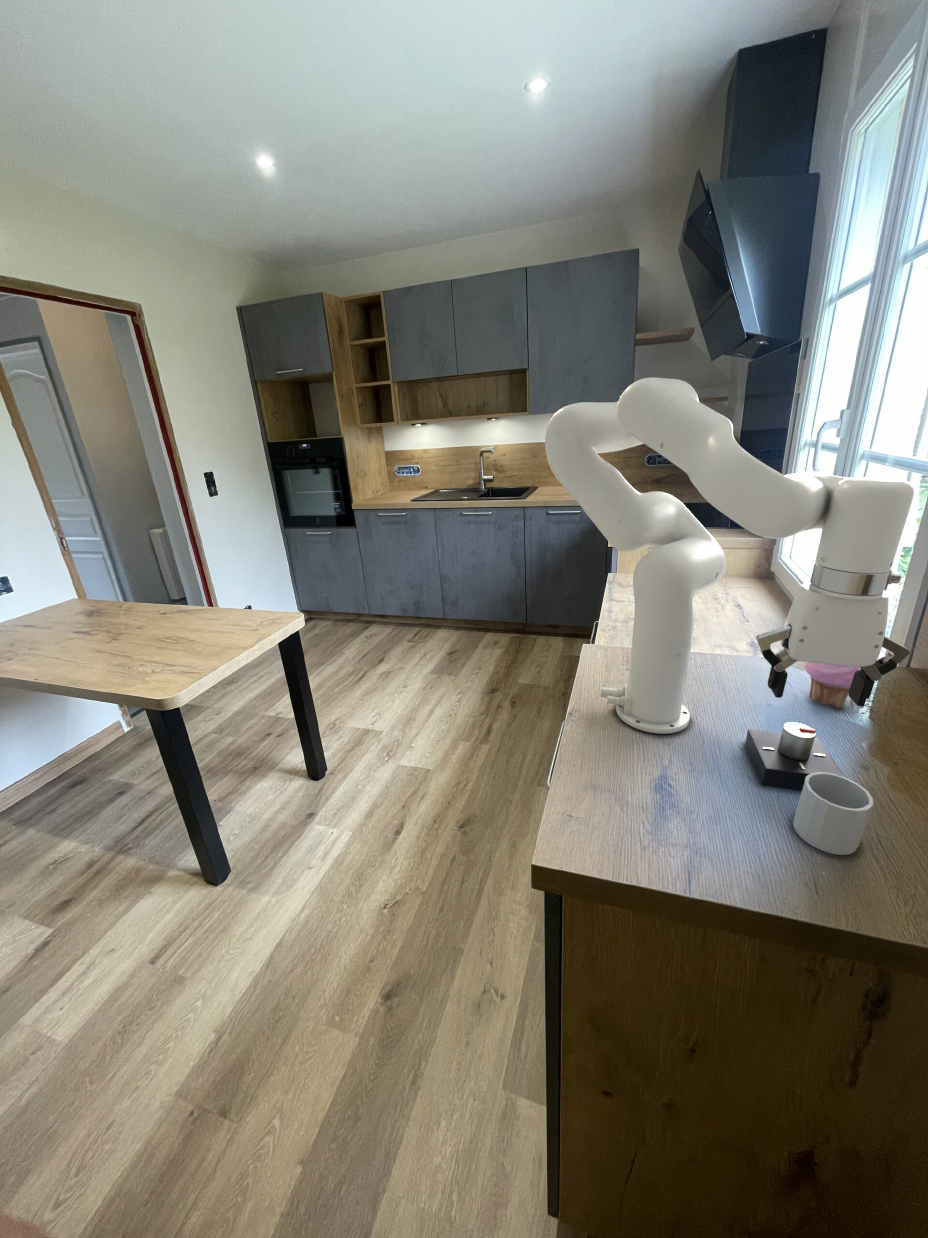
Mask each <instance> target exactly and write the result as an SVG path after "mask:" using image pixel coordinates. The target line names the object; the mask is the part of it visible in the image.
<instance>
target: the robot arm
mask: <svg viewBox="0 0 928 1238" xmlns="http://www.w3.org/2000/svg"><path fill="white" fill-rule="evenodd" d="M699 399H700V398H699V395H698V393H697V391H696V390H695V388H694V387H693V386H692V385H691V384H689V383H688V382H687V381H685V380H682V379H677V378H666V377H654V376H653V377H645V378H644V377H643V378H640V379H638V380H636V381H634V382H633V383H631V384H630V385H628V386H627V387H626V388H625V389H624V391H623V392H622V393H621V394H620V396H619V399H618V401H613V402H611V401H609V402H606V401H603V402H599V401H598V402H597V401H596V402H595V401H588V402H587V401H584V402H583V401H582V402H576V403H571V404H568V405H565V406H563V407H561V408H559V409H558V410H557V411H556V412H554V414H553V415H552V417H551V418H550V420H549V422H548V424H547V427H546V431H545V437H544V446H545V447H544V450H545V457H546V460H547V463H548V466H549V468H550V470H551V472H552V473H553V475H554V477H555V478H556V480H557V481H558V483H559V484H561V486H562V487H563V488H564V489H565V490H566V491H567V492H568V493H569V494H570V496H572V497H573V499H574V500H575V501H576V502H577V503H578V506H580V508H581V509H582V510H583V512H584V513H585V514H586V515H587V516H588V518H589V520H591V522H592V523H593V524H594V525H595V527H596V529H598V530H599V532H600V533H601V534H602V536H603V537H604V538H605V539H606V540H607V542H608V543H609V544H610V545H611V546H612V547H613V548H614V549H615V550H617V551H619V552H622V553H634V552H638V551H642V550H645V549H648V548H650V549H651V550H650V551H648V552H647V553H645V555H643V556H642V557H641V558H640V560H639V561H638V562H637V563H636V566H635V567H634V571H633V577H632V588H633V599H634V600H633V601H634V614H633V615H634V616H633V626H632V627H633V628H632V637H631V638H632V639H631V647H630V657H629V667H628V676H627V682H624V686H623V687H618V688H611V687H605V686H601V687H600V698H605V699H607V701H606V703H607V704H609V705H616V706H615V711H616V714H617V716H618V718H620V720H622V721H623V722H624V723H625V724H627V725H628V726H630V727H632V728H635V729H636V730H640V731H643V732H646V733H651V734H659V735H661V734H663V735H666V734H675V733H679V732H680V731H683V730H685V729H686V728H687V727H688V726H689V724H690V719H691V714H690V711H689V710H688V708H687V707H686V706H685V705H684V704H683V702H684V696H685V691H686V690H685V689H686V683H687V677H688V670H689V665H690V657H691V651H692V644H693V638H694V628H695V615H694V606H693V605H694V604H693V603H694V597H695V596H697V595H698V594H700V593H703V591H706V590H708V589H710V588H711V587H713V586H714V585H716V584H717V583H718V582H720V580H721V579H722V577H723V575H724V574H725V571H726V566H727V562H726V561H727V559H726V555H725V553H724V550H723V548H722V547H721V546H720V544H719V542H718V541H717V540H716V539H715V538H714V536H713V535H712V534H711V533H710V532H709V531H708V530H707V529H706V528H705V526H704V525H703V524H702V523H701V521H699V520H698V519H697V517H695V515H694V514H693V513H692V512H691V510H689V508H687V507H686V505H685V504H684V503H683V502H682V501H680V500H679V499H678V498H677V497H675V496H674V495H672V494H670V493H667V492H665V491H658V490H657V491H648V492H640V491H638V490H637V489H635V488H634V487H633V486H632V484H630V483H629V481H628V480H627V479H626V478H625V477H624V476H623V474H622V473H621V472H620V471H619V470H618V469H617V468H616V467H615V466H613V465H612V464H611V463H609V462H608V461H606V460H605V459H604V458H602V457H601V456H600V455H599V454H605V453H606V454H607V453H613V452H619V451H623V450H627V449H630V448H634V447H636V446H641V445H646V446H647V447H649V448H650V449H652V451H655V452H656V453H658V454H659V455H660V456H662V457H663V458H665V459H666V460H668V461H669V462H670V463H671V464H673V465H675V466H676V467H677V468H679V469H680V470H681V471H683V472H684V473H685V474H687V476H688V479H689V481H690V482H691V484H693V486H694V487H695V488H696V490H697V491H698V493H699V494H700V495H701V496H702V497H703V498H704V500H705V501H707V503H709V504H710V505H711V506H712V507H714V508H715V509H716V510H718V511H719V512H720V513H722V514H723V515H725V516H726V517H728V518H729V519H730V520H732V521H733V522H734V523H736V524H738V525H739V526H741V527H742V528H744V529H745V530H747V531H748V532H750V533H752V534H753V535H756V536H759V537H762V538H766V539H772V540H775V539H777V540H779V539H786V538H789V537H792V536H794V535H797V534H799V533H802V532H805V531H810V530H814V529H822V532H821V537H820V540H819V543H818V544H819V545H818V549H817V553H816V557H815V561H814V565H813V568H812V573H811V577H810V581H809V582H803V583H802V584H801V585H800V587H799V589H798V591H797V593H796V595H795V597H794V599H793V602H792V603H791V606H790V608H789V611H788V614H787V617H786V620H785V622H784V626H782V627H779V628H775V629H772V630H769V631H766V632H763V633H759V634H757V635H756V636H755V641H756V644H757V646H758V649H759V651H760V653H761V655H762V656H763V658H764V659H765V661H766V662H768V664H769V665H771V666H770V671H769V675H768V679H767V687H768V689H770V690H771V692H772V694H773V695H774V697H775V698H779V699H781V698H783V695H784V691H785V687H786V683H787V680H788V676H789V673H788V671H786V669H788V668H789V667H791V666H793V665H794V664H795V663H797V662H803V663H807V662H810V663H821V664H832V665H844V666H857V667H860V668H861V669H860V670H857V671H856V672H855V673H854V677H853V680H852V683H851V686H850V690H849V693H848V697H849V698H850V699H851V700H852V702H853V703H854V704H855V705H856V706H857V707H861V708H862V707H865V705H866V703H867V699H870V697H871V694H872V692H873V689H874V685H875V682H878V681H880V680H882V677H883V676H884V675H886V674H888V673H890V672H892V671H894V670H896V668H898V665H899V664H901V663H902V662H903V661H904V660H905V659H906V658H907V657H908V656H909V655H910V654H911V651H910V650H909V649H908V648H907V647H906V646H904V645H902V644H901V643H899V642H897V641H895V640H893V639H892V638H890V637H888V636H886V630H887V624H888V616H889V594H888V593H887V592H886V591H887V590H888V586H889V585H892V584H899V583H900V582H901V579H902V574H901V573H900V572H894V571H893V570H892V567H893V563H894V561H895V557H896V554H897V551H898V547H899V544H900V540H901V538H902V535H903V533H904V528H905V525H906V523H907V522H906V521H907V518H908V515H909V512H910V509H911V506H912V502H913V498H914V494H915V491H914V490H915V489H914V486H913V484H912V483H911V482H909V481H907V480H904V479H900V478H899V479H898V478H894V477H881V476H880V477H878V476H877V477H876V476H860V477H847V476H840V475H833V474H827V473H823V472H817V471H815V472H814V471H800V472H796V473H789V474H785V475H784V474H782V473H781V472H779V471H777V470H776V469H774V468H773V467H770V466H769V465H767V464H766V463H764V462H762V461H761V460H760V459H758V458H756V457H755V456H753V455H752V454H751V453H749V452H748V451H746V450H745V449H744V448H743V447H742V446H741V445H740V444H739V443H738V442H737V440H736V439H735V435H734V426H733V422H732V421H731V419H729V418H728V417H726V416H724V415H723V414H721V413H719V412H717V411H716V410H714V409H712V408H711V407H709V406H707V405H706V404H703V403H702V402H701V401H700V400H699ZM776 642H780V646H781V647H782V648H781V649H779V650H777V652H774V651H773V650H772V648H771V646H772V644H773V643H776ZM882 648H883V649H885V650H887V651H888V652H887V653H886V655H885V656H882V657H880V654H881V651H882ZM879 657H880V658H879Z"/></svg>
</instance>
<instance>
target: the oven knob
mask: <svg viewBox="0 0 928 1238" xmlns="http://www.w3.org/2000/svg"><path fill="white" fill-rule="evenodd" d="M781 733H782V734H781V738H780V742H779V746H778V749H779V751H780V752H781V753H782V754H783V755H785V756H787V757H789V758H792V759H795V760H806V759H808V758H809V757H810V754H811V750H812V746H813V743H814V739H815V737H816V736H817V730H816V729H815V728H814V727H813V728H812V727H810V726H808V725H806V724H803V723H800V722H794V721H791V722H790V721H789V722H785V723H784V724H783V727H782V730H781Z"/></svg>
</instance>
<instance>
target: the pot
mask: <svg viewBox="0 0 928 1238" xmlns="http://www.w3.org/2000/svg"><path fill="white" fill-rule="evenodd" d="M873 807H874V798H873V797H872V795H871V794H870V793H869V791H868V790H867V789H866V788H864V787H863V786H862V785H861V784H860V783H857V782H856V781H853V780H851V779H849V778H847V777H846V776H845V777H842V776H839V775H836V774H832V773H825V772H817V773H811V774H809V775H808V776H806V778H805V781H804V785H803V788H802V790H801V791H800V795H799V799H798V802H797V807H796V809H795V813H794V816H793V821H792V825H793V828H794V830H795V832H796V834H797V835H798V836H799V837H800V838H801V839H802V840H803V841H804V842H806V843H807V844H809V845H810V846H811V847H814V848H815V849H817V850H820V851H821V852H825V853H827V854H832V855H838V856H846V855H852V854H853V853H855V852H856V851H857V849H858V847H859V846H860V843H861V841H862V837H863V835H864V832H865V829H866V826H867V824H868V821H869V818H870V815H871V813H872V809H873Z"/></svg>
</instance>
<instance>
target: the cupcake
mask: <svg viewBox="0 0 928 1238" xmlns="http://www.w3.org/2000/svg"><path fill="white" fill-rule="evenodd" d="M860 669H861V668H860V667H857V666H844V665H832V664H821V663H810V662H805V671H806V673H807V674H808V675H809V676H810V689H809V699H810V700H811V701H812V702H814V703H818V704H821V705H826V706H830V707H833V708H838V709H840V708H842V707H843V706H844V705H845V702H846V700H847V697H849V695H848V693H849V690H850V686H851V683H852V680H853V677H854V673H855V672H856V671H857V670H860Z"/></svg>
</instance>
